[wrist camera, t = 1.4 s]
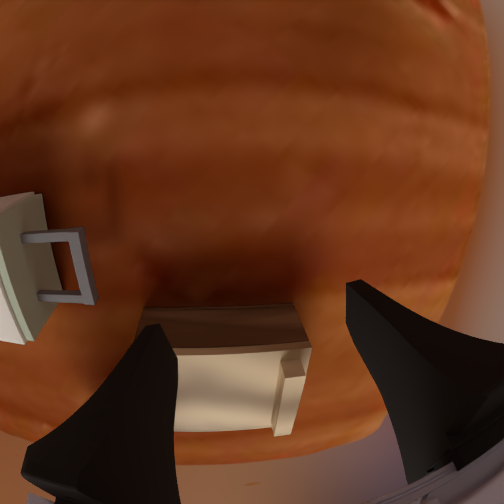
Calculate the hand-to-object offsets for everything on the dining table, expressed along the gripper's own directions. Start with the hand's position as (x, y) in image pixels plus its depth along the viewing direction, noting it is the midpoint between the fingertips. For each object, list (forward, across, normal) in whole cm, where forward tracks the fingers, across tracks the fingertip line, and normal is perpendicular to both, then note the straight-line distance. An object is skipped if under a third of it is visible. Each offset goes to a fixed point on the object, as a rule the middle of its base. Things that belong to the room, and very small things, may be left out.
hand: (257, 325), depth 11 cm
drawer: (+10, +17, -3) cm, 20 cm away
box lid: (+5, +4, +11) cm, 13 cm away
